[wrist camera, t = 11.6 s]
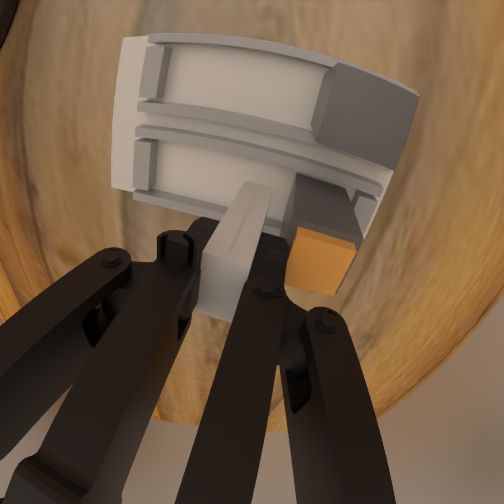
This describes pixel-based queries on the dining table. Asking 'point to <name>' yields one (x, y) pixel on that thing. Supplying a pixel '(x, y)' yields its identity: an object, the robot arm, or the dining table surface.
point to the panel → (251, 123)
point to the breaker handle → (319, 235)
